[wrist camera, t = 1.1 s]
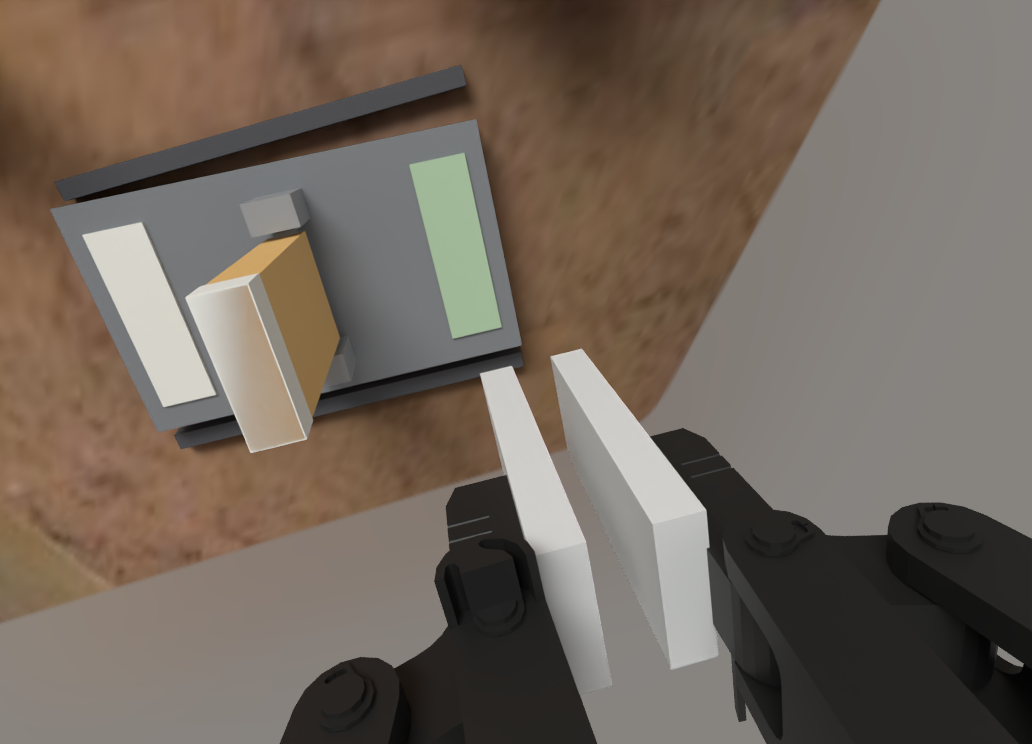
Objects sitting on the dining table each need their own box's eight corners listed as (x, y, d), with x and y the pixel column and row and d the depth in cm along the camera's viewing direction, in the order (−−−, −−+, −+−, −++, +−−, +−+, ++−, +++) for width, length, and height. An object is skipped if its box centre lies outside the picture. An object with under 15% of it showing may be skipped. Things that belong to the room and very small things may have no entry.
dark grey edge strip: (186, 441, 39) (180, 449, 38) (180, 428, 38) (174, 435, 38) (521, 360, 40) (523, 366, 39) (518, 346, 40) (521, 352, 39)
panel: (173, 414, 38) (135, 459, 33) (75, 203, 33) (11, 217, 28) (515, 332, 40) (531, 363, 34) (471, 119, 35) (482, 118, 29)
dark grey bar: (74, 199, 33) (64, 201, 32) (64, 180, 32) (53, 181, 32) (465, 86, 34) (466, 84, 33) (459, 66, 33) (461, 64, 33)
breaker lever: (306, 346, 34) (252, 456, 23) (266, 233, 32) (183, 293, 20) (343, 337, 34) (307, 442, 23) (306, 224, 32) (246, 279, 20)
